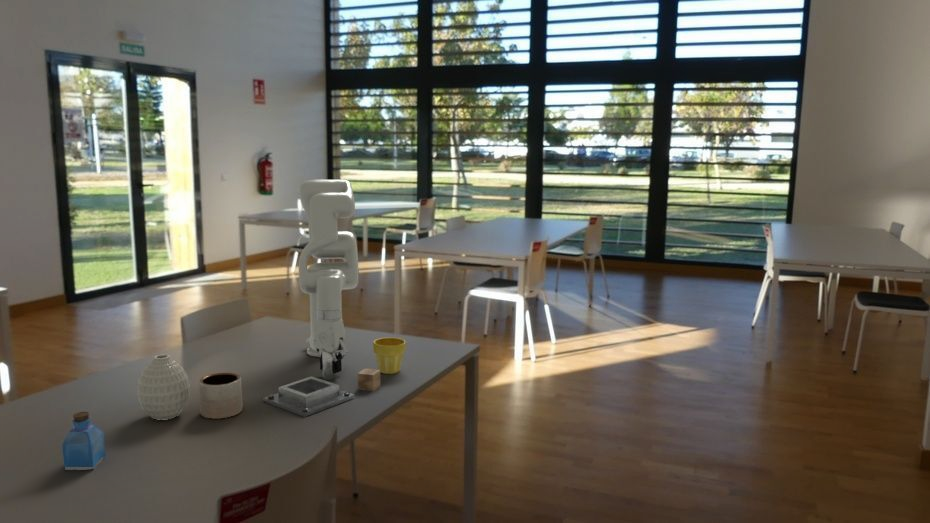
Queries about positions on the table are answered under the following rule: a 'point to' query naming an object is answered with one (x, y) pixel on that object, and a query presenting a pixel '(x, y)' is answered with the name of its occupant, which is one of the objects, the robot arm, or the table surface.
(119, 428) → the table surface
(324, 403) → the square metal socket
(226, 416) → the planter
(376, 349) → the plant pot
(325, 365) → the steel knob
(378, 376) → the wooden cube
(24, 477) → the table surface
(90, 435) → the perfume bottle
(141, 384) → the vase
